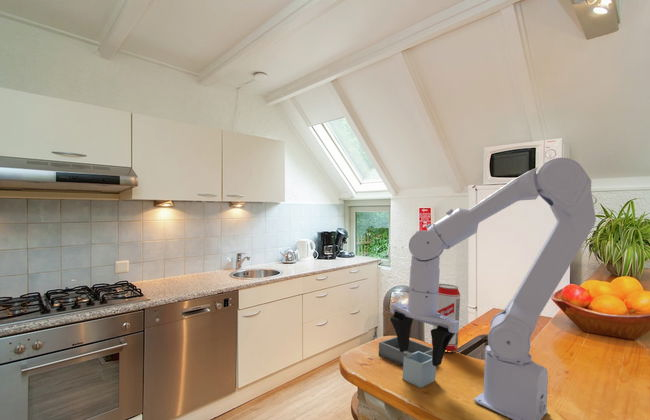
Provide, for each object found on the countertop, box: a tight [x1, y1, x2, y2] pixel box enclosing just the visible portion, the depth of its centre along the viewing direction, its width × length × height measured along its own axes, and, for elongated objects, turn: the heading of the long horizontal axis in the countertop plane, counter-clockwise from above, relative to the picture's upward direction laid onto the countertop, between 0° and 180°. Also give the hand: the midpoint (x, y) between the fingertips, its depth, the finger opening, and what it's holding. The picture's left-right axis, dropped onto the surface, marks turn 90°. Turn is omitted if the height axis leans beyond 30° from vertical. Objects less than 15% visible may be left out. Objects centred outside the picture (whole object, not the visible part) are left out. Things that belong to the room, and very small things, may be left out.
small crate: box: [402, 351, 437, 389], centre depth 66 cm, size 4×5×4 cm
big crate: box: [378, 336, 433, 367], centre depth 76 cm, size 10×8×3 cm
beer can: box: [431, 283, 461, 353], centre depth 84 cm, size 6×6×16 cm
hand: (419, 357), depth 66 cm, fingers open, 7 cm apart
